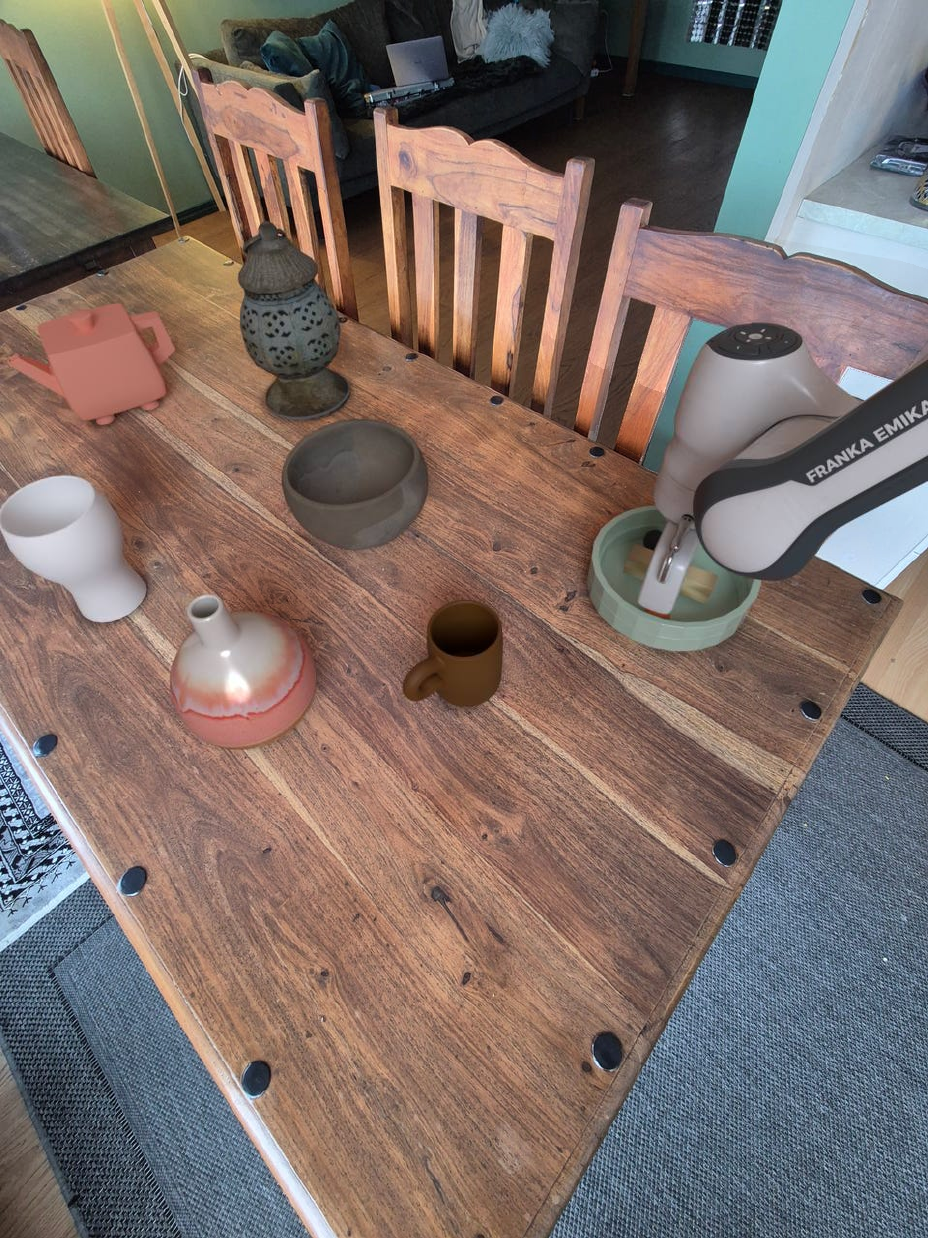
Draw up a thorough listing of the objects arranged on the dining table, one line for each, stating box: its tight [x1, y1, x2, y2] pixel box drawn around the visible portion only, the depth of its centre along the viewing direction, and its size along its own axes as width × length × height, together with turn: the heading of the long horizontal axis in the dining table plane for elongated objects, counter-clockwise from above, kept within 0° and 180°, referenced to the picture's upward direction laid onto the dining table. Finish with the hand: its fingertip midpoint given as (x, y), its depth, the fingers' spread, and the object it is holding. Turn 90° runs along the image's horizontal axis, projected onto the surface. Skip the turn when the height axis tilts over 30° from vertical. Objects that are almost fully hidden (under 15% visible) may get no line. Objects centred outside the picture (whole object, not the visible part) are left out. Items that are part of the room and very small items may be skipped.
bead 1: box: [643, 530, 662, 551], centre depth 78 cm, size 3×3×3 cm
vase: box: [169, 593, 318, 751], centre depth 61 cm, size 14×14×18 cm
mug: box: [401, 599, 504, 708], centre depth 65 cm, size 12×8×9 cm, turn 136°
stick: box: [623, 544, 718, 604], centre depth 74 cm, size 10×2×3 cm, turn 63°
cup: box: [0, 474, 147, 623], centre depth 71 cm, size 11×11×15 cm
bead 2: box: [645, 608, 670, 620], centre depth 71 cm, size 3×3×3 cm
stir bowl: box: [586, 504, 762, 652], centre depth 74 cm, size 19×19×5 cm
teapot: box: [5, 302, 176, 426], centre depth 96 cm, size 22×13×14 cm, turn 121°
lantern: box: [237, 220, 351, 422], centre depth 92 cm, size 14×14×25 cm
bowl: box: [281, 418, 429, 551], centre depth 81 cm, size 17×18×10 cm
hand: (668, 578), depth 75 cm, fingers closed on stick, 2 cm apart
